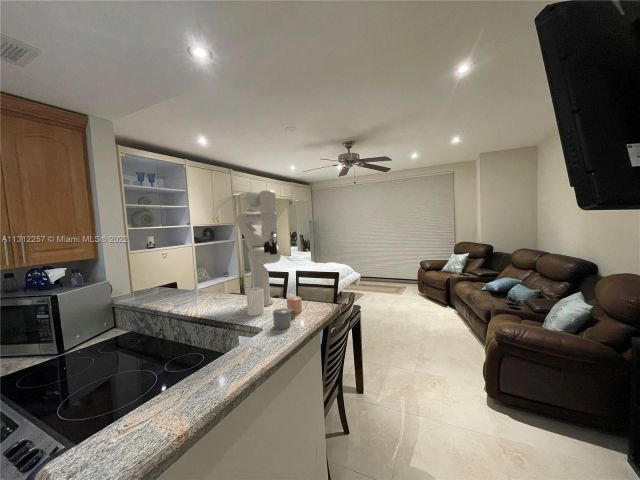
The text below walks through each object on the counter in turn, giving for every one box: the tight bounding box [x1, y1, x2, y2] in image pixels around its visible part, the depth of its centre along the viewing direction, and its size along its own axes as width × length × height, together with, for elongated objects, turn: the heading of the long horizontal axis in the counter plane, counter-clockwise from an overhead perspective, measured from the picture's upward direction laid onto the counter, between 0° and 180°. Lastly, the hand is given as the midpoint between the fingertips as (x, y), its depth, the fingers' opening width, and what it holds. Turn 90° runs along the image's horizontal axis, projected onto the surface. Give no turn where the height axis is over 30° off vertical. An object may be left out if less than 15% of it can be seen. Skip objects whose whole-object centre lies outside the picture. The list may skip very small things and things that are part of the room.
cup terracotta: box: [286, 295, 303, 315], centre depth 127 cm, size 7×7×6 cm
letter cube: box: [288, 308, 296, 320], centre depth 118 cm, size 4×4×4 cm
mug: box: [246, 287, 266, 317], centre depth 125 cm, size 12×8×12 cm
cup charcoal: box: [272, 307, 292, 330], centre depth 109 cm, size 7×7×6 cm
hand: (270, 253), depth 120 cm, fingers open, 9 cm apart
